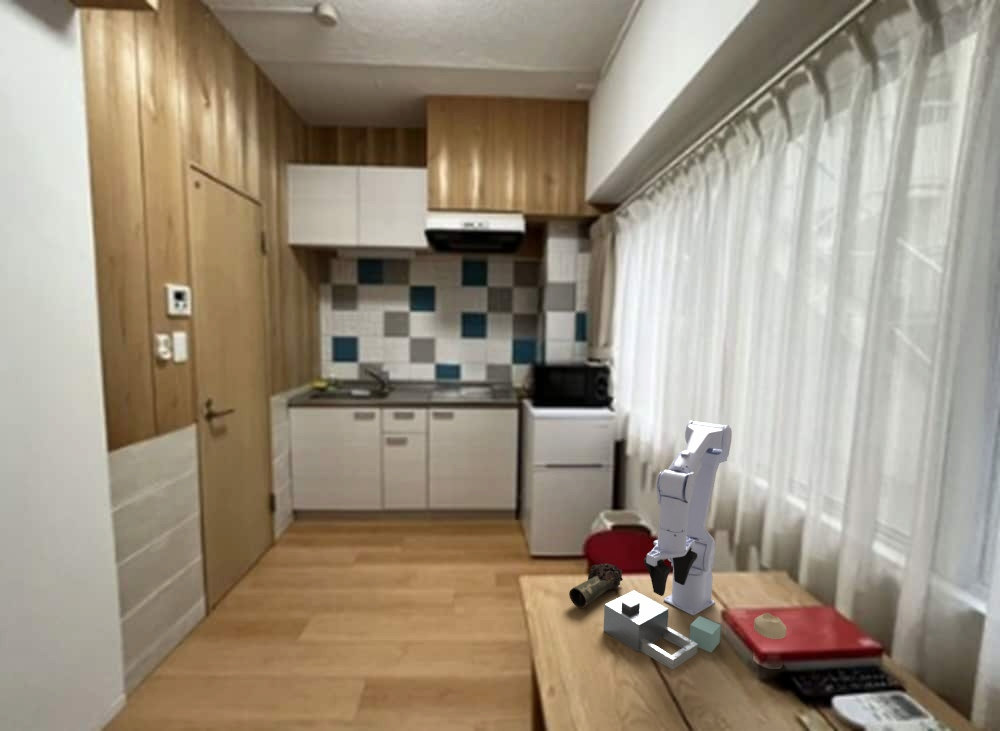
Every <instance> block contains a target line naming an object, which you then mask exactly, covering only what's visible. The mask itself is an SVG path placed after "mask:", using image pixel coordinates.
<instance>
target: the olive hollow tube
mask: <svg viewBox="0 0 1000 731" xmlns="http://www.w3.org/2000/svg"><path fill="white" fill-rule="evenodd" d="M589 571H590V572H589V573H588V576H587V580H585V581H583V582H582V583H580V584H577V585H576V586H574V587H572V588H571V589H570V590H569V593H568V595H569V599H570V601H571V602H572V604H574V605H575V606H576V607H577V608H579V609H584V608H585V607H587V606H588V605H589V604H590V603H592V602H593V601H595V600H596V599H597V598H598V597H600V596H601V595H602V594H604V593H605V592H607V591H608V590H611V589H618V587H619V586H621V581H623V577H622V576H623V570H622V569H619V568H618V566H616V565H613V564H610V563H599V564H593V565H592V566H591V567H590V570H589Z"/></svg>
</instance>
